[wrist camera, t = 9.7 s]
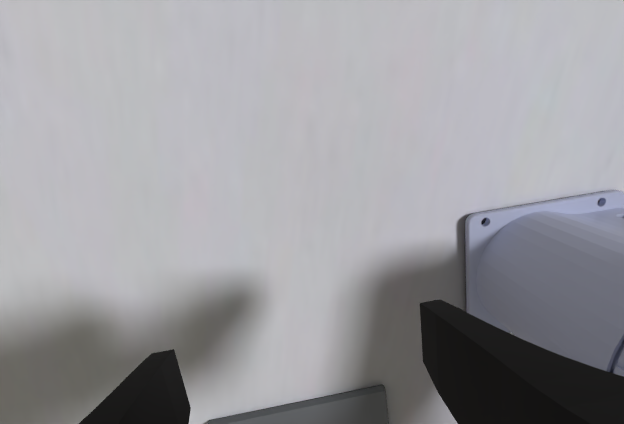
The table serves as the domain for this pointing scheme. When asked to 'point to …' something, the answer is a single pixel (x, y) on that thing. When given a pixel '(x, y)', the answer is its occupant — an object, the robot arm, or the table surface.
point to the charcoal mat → (322, 410)
